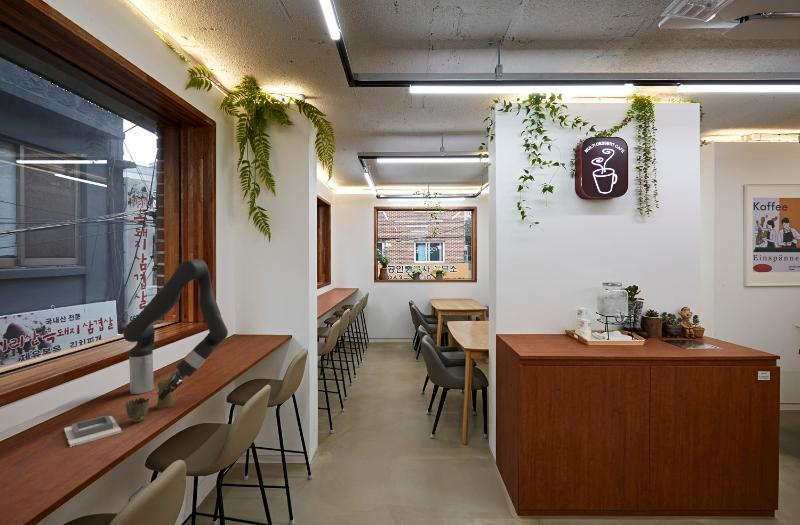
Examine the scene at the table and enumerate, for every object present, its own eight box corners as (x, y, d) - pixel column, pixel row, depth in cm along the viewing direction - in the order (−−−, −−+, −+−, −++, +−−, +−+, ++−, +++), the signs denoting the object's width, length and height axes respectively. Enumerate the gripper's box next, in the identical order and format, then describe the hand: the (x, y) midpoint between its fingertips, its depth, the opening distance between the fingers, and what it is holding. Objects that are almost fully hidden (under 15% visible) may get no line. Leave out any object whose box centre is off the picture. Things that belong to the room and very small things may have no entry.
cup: (154, 418, 147) (153, 398, 147) (135, 426, 140) (134, 405, 140) (140, 416, 149) (139, 396, 149) (121, 424, 143) (120, 403, 142)
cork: (165, 409, 156) (164, 383, 156) (153, 408, 157) (152, 382, 157) (177, 403, 162) (176, 378, 162) (165, 402, 163) (164, 377, 163)
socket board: (64, 430, 138) (64, 422, 138) (111, 418, 148) (111, 410, 148) (70, 447, 125) (69, 438, 125) (121, 432, 136) (121, 424, 136)
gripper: (182, 354, 170) (150, 387, 163) (186, 361, 158) (152, 397, 151) (195, 364, 173) (165, 396, 166) (200, 371, 161) (168, 406, 154)
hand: (159, 396), depth 158 cm, fingers open, 4 cm apart
